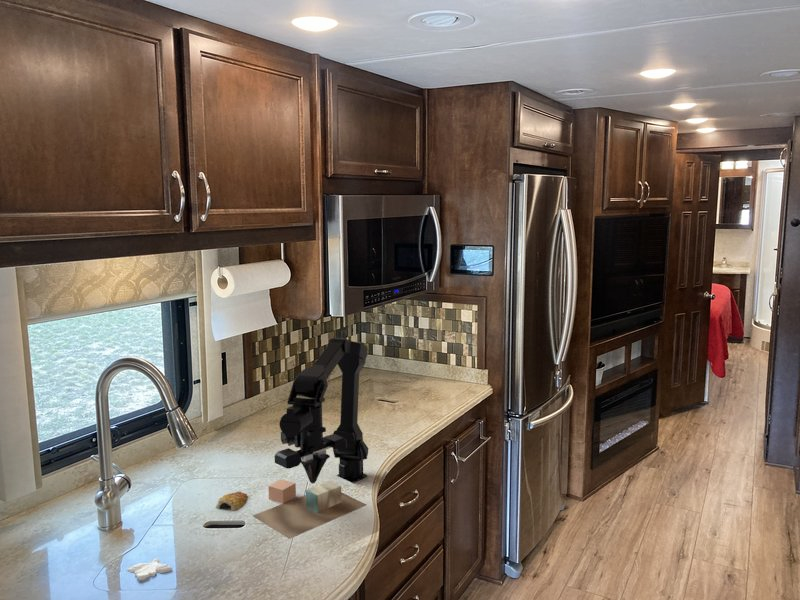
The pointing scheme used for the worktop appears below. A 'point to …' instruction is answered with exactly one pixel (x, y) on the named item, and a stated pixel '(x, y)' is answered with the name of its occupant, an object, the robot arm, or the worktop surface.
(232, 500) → the pastry
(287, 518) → the walnut board
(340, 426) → the robot arm
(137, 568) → the acanthus leaf ornament
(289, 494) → the terracotta cube
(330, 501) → the maple block
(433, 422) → the worktop surface
